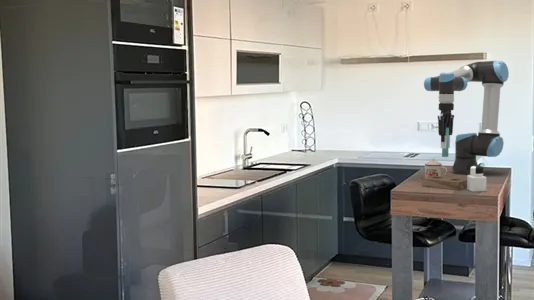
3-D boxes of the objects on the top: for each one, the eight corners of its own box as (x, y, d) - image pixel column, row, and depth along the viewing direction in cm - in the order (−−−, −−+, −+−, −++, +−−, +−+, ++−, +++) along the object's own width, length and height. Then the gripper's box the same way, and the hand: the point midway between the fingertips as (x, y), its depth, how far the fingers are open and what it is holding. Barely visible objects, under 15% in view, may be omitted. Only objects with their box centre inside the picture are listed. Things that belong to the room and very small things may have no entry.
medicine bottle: (480, 189, 311) (481, 165, 310) (486, 191, 304) (486, 167, 303) (466, 189, 311) (467, 165, 309) (471, 191, 304) (472, 167, 302)
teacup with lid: (422, 180, 341) (422, 159, 339) (426, 178, 349) (426, 157, 347) (445, 181, 335) (445, 160, 334) (448, 179, 343) (448, 158, 342)
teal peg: (443, 156, 326) (444, 127, 325) (449, 156, 324) (450, 127, 323) (440, 156, 324) (441, 127, 323) (446, 157, 322) (447, 128, 321)
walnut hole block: (434, 183, 331) (434, 175, 331) (469, 187, 317) (469, 179, 317) (422, 186, 323) (422, 178, 322) (458, 190, 309) (458, 182, 308)
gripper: (447, 102, 330) (446, 146, 332) (431, 102, 318) (430, 148, 321) (460, 102, 325) (459, 147, 327) (445, 103, 313) (444, 149, 315)
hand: (445, 147), depth 324 cm, fingers closed on teal peg, 3 cm apart
